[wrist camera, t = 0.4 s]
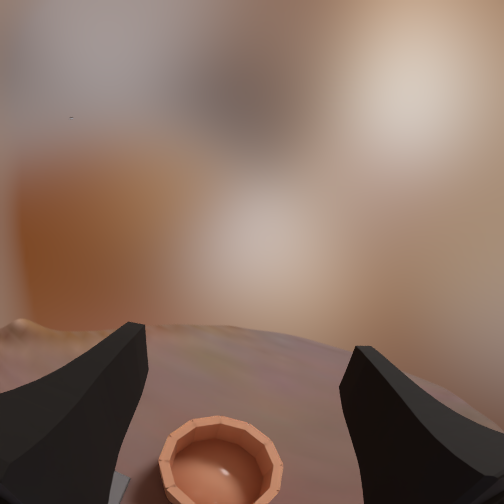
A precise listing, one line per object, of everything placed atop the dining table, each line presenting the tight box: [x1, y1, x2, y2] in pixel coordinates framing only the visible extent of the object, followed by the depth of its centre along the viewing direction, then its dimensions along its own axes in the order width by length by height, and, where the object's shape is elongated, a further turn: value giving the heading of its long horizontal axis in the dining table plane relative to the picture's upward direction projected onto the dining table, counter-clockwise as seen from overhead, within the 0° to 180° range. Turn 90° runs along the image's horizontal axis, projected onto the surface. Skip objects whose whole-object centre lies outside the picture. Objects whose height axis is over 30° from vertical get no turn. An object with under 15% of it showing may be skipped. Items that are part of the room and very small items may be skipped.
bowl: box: [159, 416, 283, 504], centre depth 20 cm, size 10×10×4 cm
